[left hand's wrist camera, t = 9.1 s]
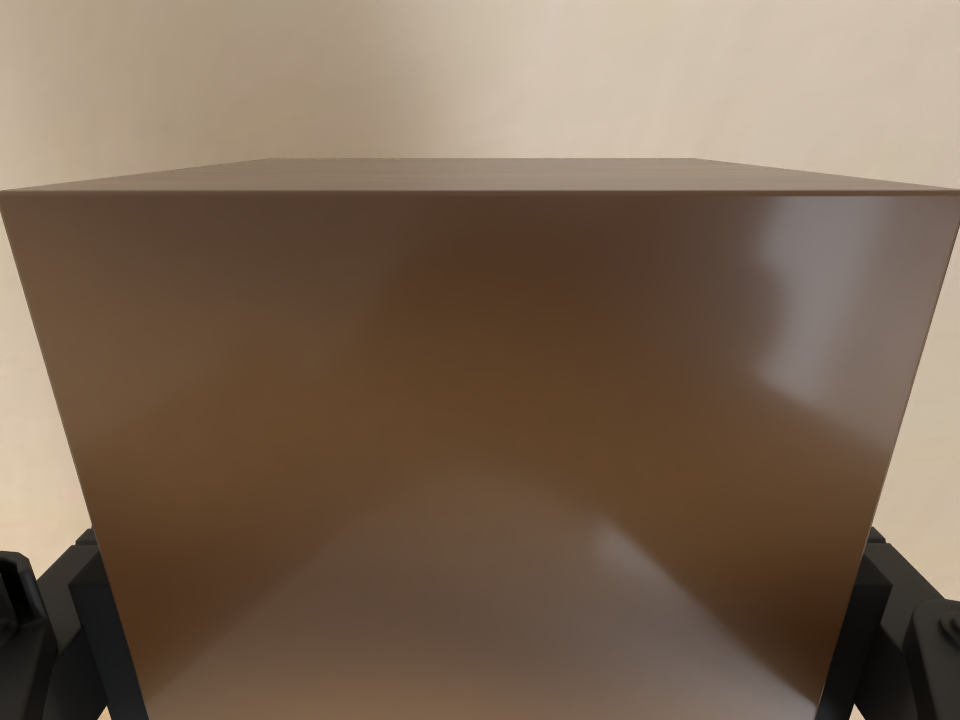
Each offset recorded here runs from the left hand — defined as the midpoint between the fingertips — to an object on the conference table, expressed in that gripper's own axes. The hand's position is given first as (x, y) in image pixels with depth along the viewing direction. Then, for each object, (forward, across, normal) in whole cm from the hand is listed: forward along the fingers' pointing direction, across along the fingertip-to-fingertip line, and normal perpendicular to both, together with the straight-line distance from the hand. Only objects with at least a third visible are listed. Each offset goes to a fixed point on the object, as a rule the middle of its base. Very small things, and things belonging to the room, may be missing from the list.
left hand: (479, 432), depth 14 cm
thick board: (+1, 0, -34) cm, 34 cm away
